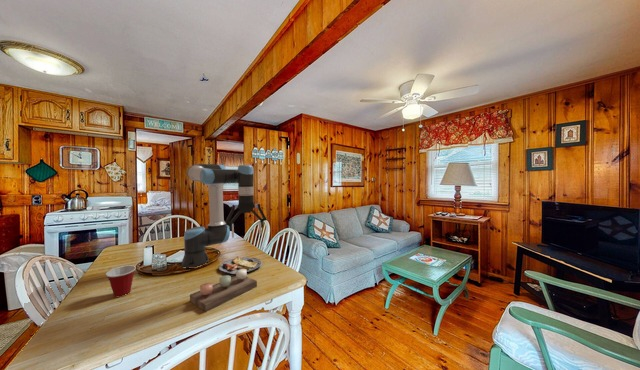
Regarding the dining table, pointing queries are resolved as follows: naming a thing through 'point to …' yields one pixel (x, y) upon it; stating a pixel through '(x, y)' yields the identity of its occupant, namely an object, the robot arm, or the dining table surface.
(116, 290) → the plastic cup
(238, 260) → the food plate
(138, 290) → the dining table surface
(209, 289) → the terracotta button
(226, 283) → the sage button
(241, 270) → the cream button
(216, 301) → the button board
